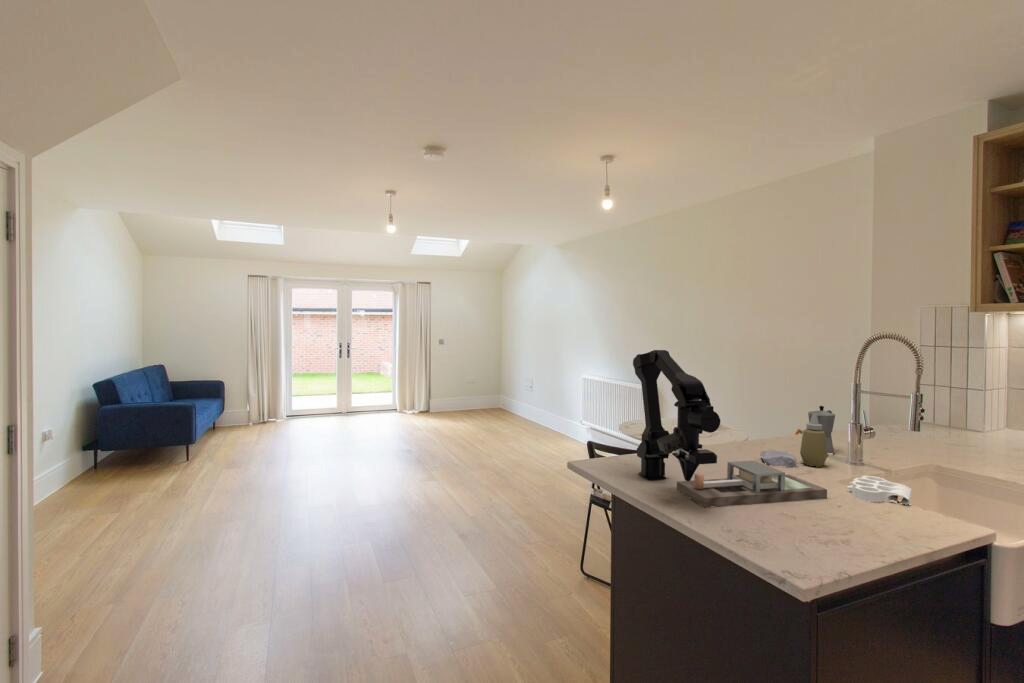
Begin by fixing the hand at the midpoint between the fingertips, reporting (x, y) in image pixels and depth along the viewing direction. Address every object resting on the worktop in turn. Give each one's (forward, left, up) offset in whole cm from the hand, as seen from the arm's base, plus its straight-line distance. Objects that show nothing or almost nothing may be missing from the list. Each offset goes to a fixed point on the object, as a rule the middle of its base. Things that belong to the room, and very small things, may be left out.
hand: (687, 480), depth 134 cm
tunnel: (+21, 0, -2) cm, 22 cm away
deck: (+20, 0, -5) cm, 21 cm away
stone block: (+52, +27, -6) cm, 59 cm away
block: (+21, 0, -2) cm, 22 cm away
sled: (+14, 0, -2) cm, 14 cm away
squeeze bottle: (+62, +22, -5) cm, 66 cm away
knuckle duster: (+56, -7, -6) cm, 57 cm away
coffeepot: (+80, +37, -5) cm, 88 cm away
